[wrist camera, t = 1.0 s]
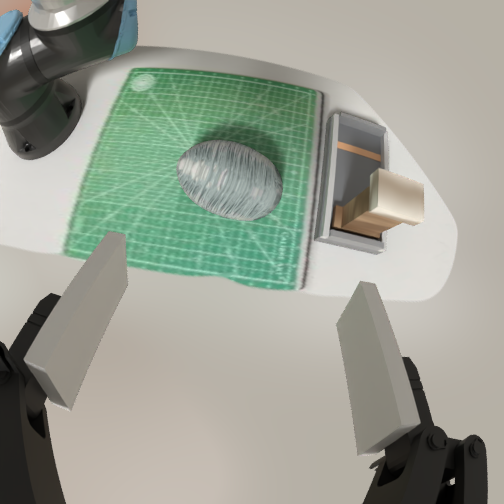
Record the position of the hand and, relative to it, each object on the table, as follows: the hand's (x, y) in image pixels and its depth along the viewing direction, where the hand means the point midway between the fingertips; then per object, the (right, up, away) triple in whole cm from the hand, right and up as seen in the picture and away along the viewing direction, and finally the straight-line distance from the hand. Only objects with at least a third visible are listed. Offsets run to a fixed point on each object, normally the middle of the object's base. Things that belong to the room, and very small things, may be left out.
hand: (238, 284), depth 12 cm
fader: (+15, +5, +28) cm, 32 cm away
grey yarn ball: (-3, +10, +29) cm, 31 cm away
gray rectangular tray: (+16, +12, +31) cm, 37 cm away
